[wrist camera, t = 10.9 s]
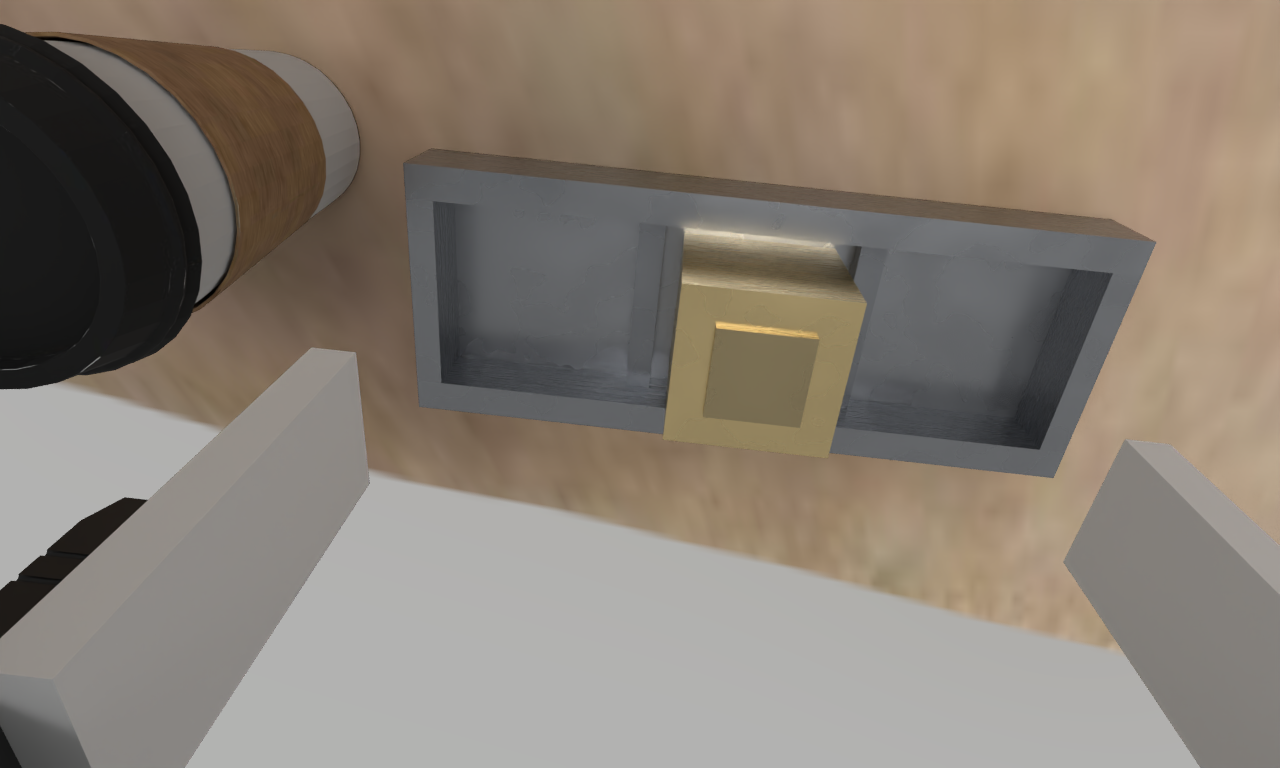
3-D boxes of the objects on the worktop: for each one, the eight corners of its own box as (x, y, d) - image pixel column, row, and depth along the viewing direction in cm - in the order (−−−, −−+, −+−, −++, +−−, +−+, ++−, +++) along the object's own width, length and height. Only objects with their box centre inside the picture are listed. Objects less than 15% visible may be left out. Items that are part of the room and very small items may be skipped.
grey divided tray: (441, 374, 33) (419, 406, 30) (430, 148, 28) (403, 162, 25) (1024, 439, 32) (1053, 478, 30) (1111, 219, 28) (1156, 241, 25)
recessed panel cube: (668, 366, 31) (662, 444, 26) (684, 232, 28) (681, 286, 23) (805, 381, 31) (829, 462, 26) (835, 248, 28) (868, 307, 23)
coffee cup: (143, 28, 27) (-399, 46, 14) (357, -1, 26) (0, -12, 13) (227, 246, 31) (-131, 427, 17) (416, 228, 30) (190, 405, 16)
